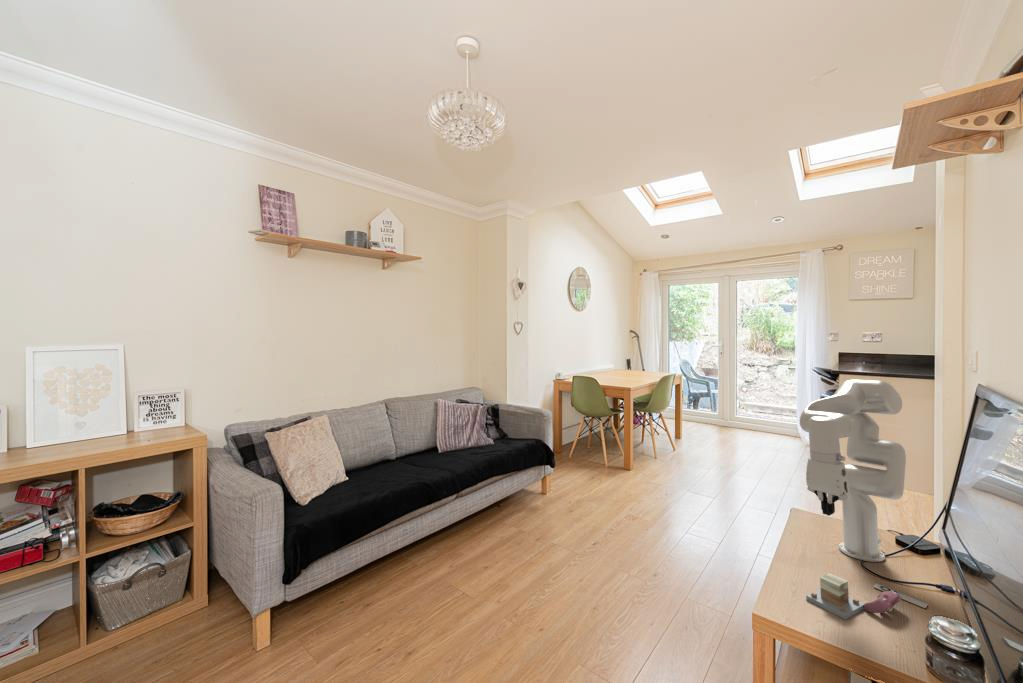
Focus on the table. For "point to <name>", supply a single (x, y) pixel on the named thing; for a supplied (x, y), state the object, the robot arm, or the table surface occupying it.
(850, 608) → the board
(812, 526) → the table surface
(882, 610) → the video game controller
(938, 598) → the table surface
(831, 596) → the block stack
